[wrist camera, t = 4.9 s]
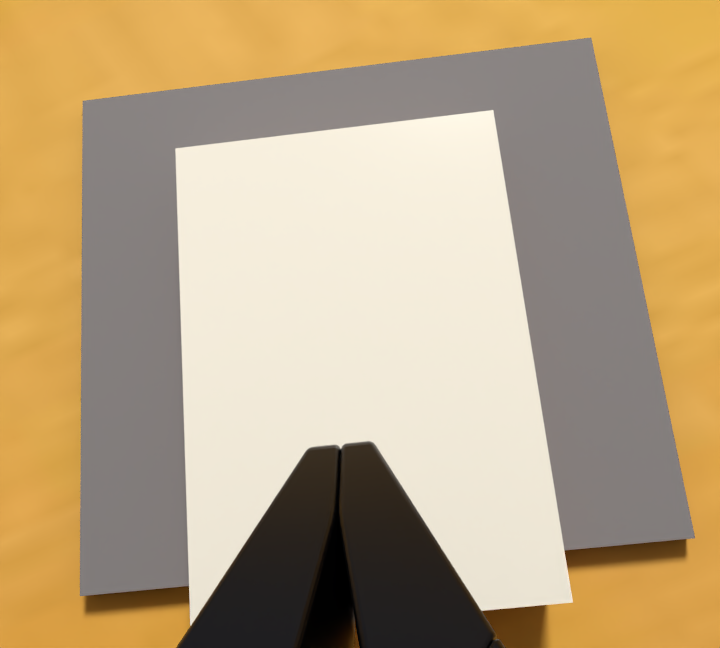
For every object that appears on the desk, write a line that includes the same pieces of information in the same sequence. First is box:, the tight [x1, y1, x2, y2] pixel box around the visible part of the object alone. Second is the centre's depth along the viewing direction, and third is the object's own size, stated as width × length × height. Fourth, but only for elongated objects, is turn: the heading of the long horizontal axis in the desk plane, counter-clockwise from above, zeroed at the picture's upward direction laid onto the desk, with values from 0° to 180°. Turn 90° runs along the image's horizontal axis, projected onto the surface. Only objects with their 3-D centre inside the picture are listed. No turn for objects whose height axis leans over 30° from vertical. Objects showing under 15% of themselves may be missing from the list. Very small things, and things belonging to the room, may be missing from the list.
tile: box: [175, 110, 573, 626], centre depth 15 cm, size 2×7×10 cm
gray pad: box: [80, 38, 695, 596], centre depth 16 cm, size 12×13×1 cm
